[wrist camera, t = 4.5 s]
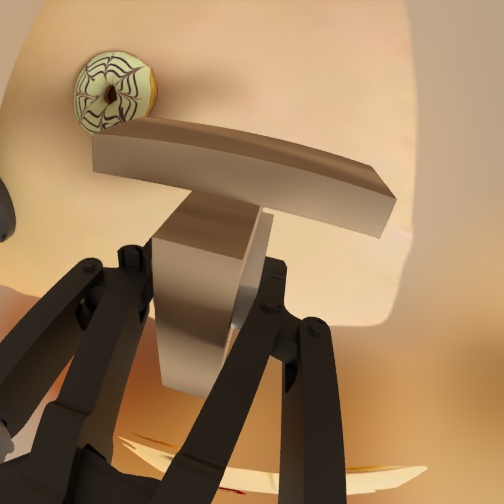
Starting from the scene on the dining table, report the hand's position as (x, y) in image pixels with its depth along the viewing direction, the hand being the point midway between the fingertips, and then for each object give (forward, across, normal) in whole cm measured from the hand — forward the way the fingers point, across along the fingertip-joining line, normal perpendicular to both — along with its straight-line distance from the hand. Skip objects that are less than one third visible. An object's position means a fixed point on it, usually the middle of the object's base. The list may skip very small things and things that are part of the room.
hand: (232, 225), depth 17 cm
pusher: (+1, 0, 0) cm, 1 cm away
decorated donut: (+15, -18, +6) cm, 24 cm away
